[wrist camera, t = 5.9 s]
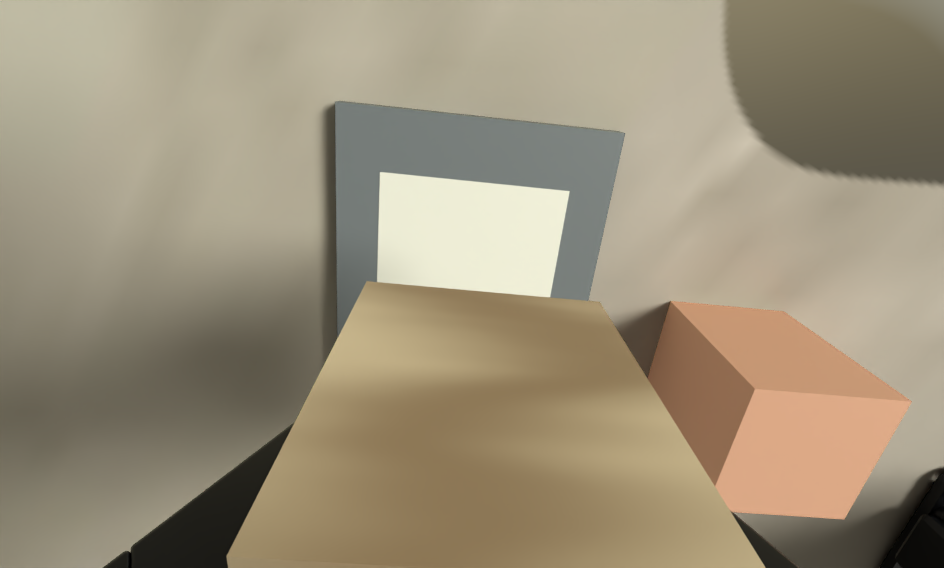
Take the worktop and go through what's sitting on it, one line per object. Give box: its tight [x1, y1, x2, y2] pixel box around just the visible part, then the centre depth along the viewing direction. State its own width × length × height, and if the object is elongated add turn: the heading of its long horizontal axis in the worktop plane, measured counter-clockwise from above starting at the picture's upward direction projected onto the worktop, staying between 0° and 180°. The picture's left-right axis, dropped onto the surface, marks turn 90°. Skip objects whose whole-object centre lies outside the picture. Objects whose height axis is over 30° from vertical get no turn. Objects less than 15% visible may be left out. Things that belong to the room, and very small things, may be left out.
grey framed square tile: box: [335, 101, 625, 338], centre depth 15 cm, size 8×9×1 cm
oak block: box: [226, 281, 765, 568], centre depth 6 cm, size 4×4×5 cm
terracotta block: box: [647, 301, 912, 519], centre depth 14 cm, size 4×4×5 cm
